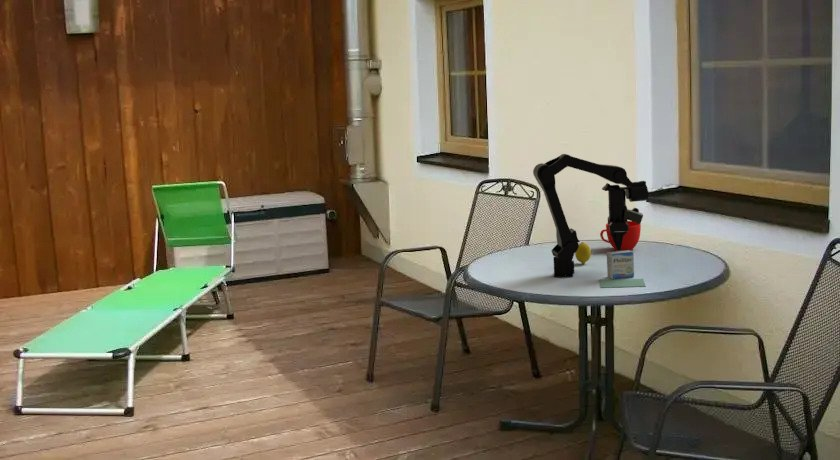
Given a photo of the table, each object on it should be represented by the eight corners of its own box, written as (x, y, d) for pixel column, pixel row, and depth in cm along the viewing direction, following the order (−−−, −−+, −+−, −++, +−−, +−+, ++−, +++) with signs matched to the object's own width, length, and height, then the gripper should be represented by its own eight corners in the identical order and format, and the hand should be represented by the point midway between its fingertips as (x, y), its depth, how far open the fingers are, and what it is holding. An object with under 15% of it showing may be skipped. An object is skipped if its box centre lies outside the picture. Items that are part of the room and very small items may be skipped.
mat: (600, 287, 310) (600, 287, 309) (599, 280, 320) (599, 279, 320) (645, 286, 307) (645, 286, 307) (643, 279, 318) (643, 278, 317)
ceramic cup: (591, 250, 370) (590, 225, 368) (627, 245, 377) (626, 219, 375) (611, 255, 358) (610, 229, 357) (648, 249, 365) (647, 223, 363)
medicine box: (612, 279, 320) (611, 254, 319) (607, 277, 324) (606, 251, 323) (634, 277, 322) (633, 251, 320) (629, 274, 326) (628, 249, 324)
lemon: (580, 266, 344) (580, 244, 342) (572, 263, 349) (571, 241, 348) (594, 264, 346) (593, 242, 344) (585, 261, 351) (585, 240, 350)
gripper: (643, 205, 318) (644, 252, 321) (639, 198, 337) (640, 242, 339) (609, 207, 320) (610, 253, 323) (606, 199, 338) (608, 243, 341)
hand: (618, 247), depth 331 cm, fingers open, 9 cm apart
